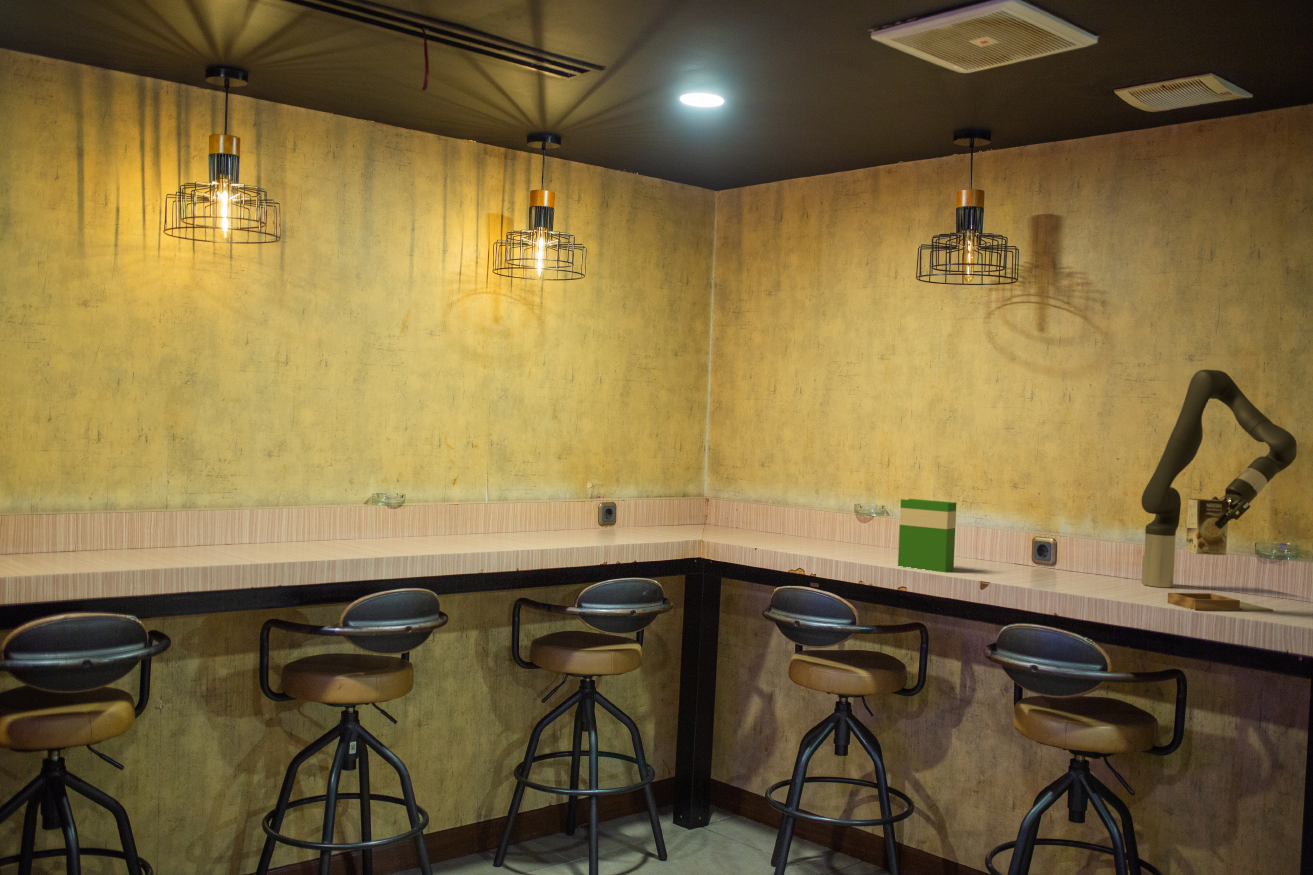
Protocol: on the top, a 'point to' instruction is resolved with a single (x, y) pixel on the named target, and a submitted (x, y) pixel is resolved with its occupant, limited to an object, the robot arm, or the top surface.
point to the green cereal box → (927, 535)
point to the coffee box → (1206, 527)
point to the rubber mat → (1252, 607)
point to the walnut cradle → (1203, 601)
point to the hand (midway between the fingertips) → (1209, 525)
